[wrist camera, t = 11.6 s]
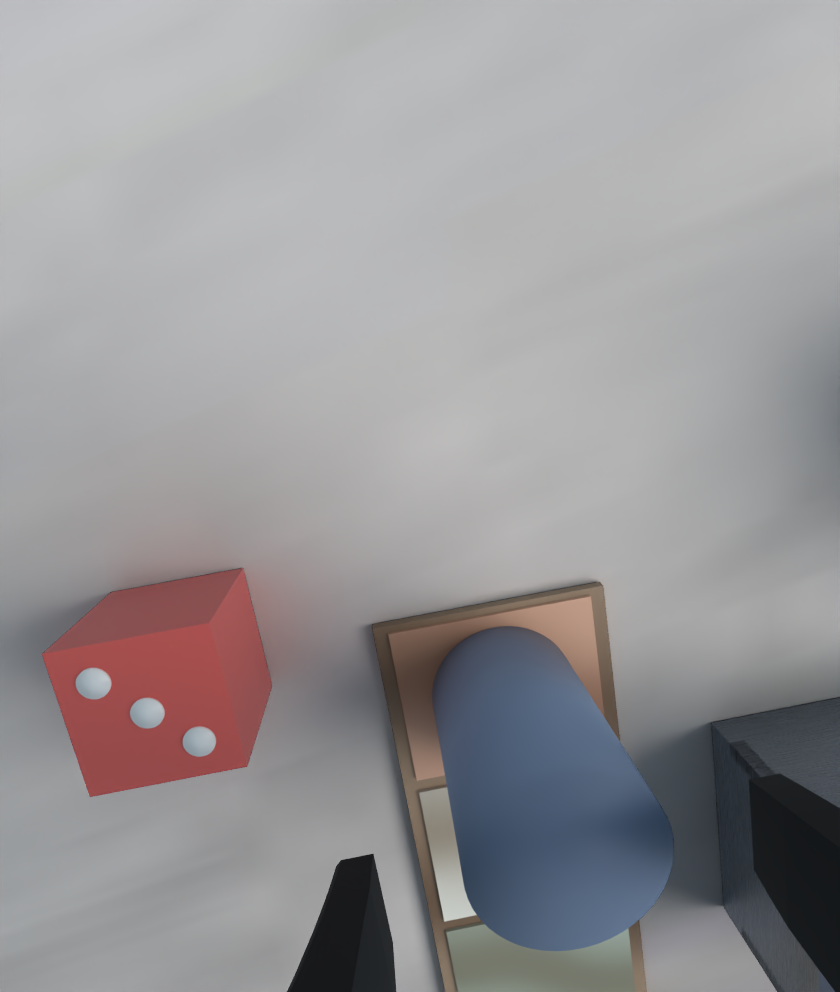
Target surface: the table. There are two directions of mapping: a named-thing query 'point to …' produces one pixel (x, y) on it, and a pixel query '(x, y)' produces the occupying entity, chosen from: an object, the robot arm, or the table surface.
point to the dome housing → (738, 758)
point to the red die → (162, 682)
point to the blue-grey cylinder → (544, 797)
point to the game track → (408, 687)
